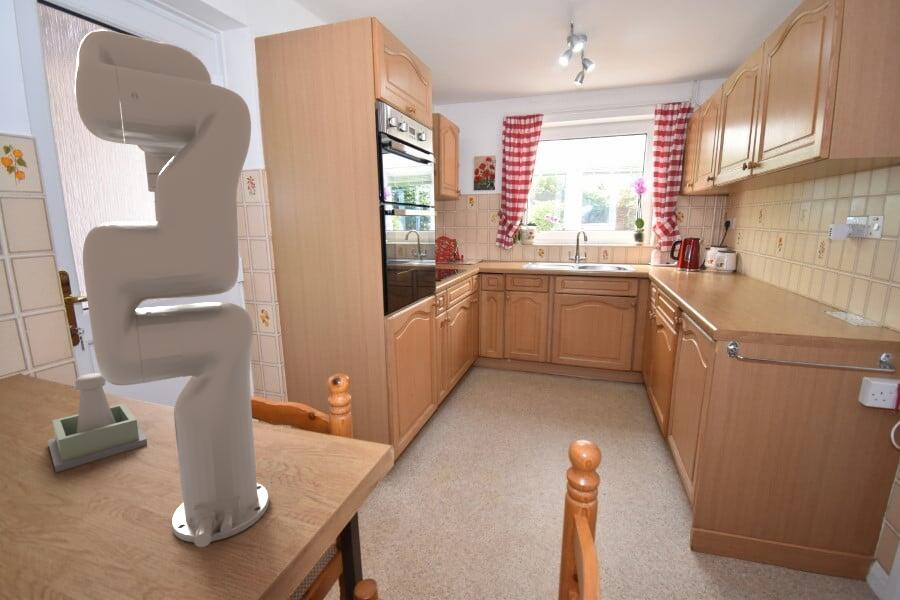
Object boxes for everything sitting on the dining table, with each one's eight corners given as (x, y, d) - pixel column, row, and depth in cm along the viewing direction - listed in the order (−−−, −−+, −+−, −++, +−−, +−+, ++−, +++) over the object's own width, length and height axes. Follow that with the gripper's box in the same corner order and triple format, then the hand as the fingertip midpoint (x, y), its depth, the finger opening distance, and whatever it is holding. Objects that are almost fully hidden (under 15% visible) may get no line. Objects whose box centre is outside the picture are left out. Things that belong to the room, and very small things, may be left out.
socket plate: (147, 444, 81) (144, 419, 80) (55, 472, 71) (51, 444, 71) (132, 423, 90) (129, 400, 89) (48, 445, 80) (44, 420, 79)
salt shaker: (95, 449, 77) (85, 381, 75) (70, 445, 78) (60, 379, 76) (125, 434, 82) (117, 371, 80) (101, 431, 84) (92, 369, 81)
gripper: (203, 184, 84) (210, 268, 87) (177, 188, 96) (184, 263, 99) (159, 180, 79) (168, 270, 82) (138, 186, 90) (146, 264, 93)
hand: (177, 266), depth 90 cm, fingers open, 9 cm apart
